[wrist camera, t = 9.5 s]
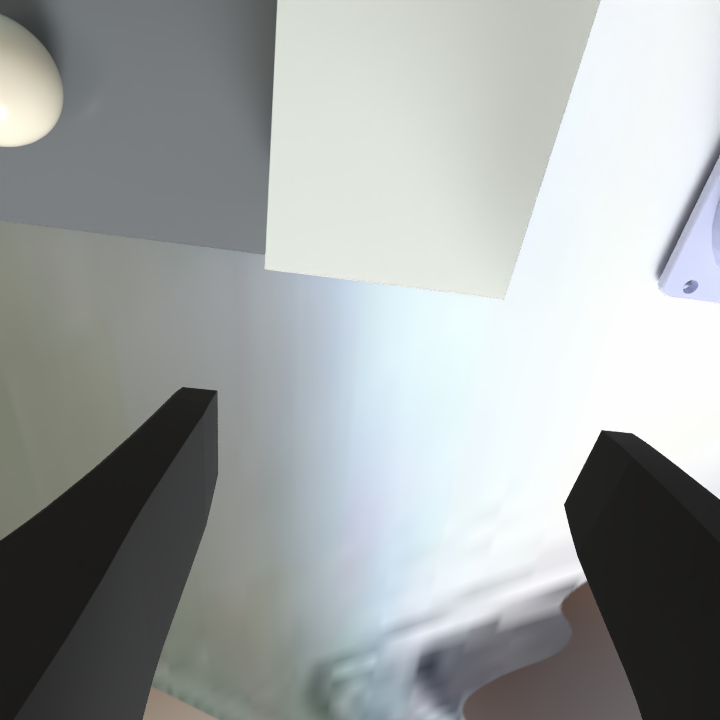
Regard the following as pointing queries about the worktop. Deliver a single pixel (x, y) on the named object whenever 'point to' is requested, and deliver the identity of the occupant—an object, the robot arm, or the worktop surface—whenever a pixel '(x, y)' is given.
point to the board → (151, 121)
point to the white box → (415, 135)
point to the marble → (26, 86)
